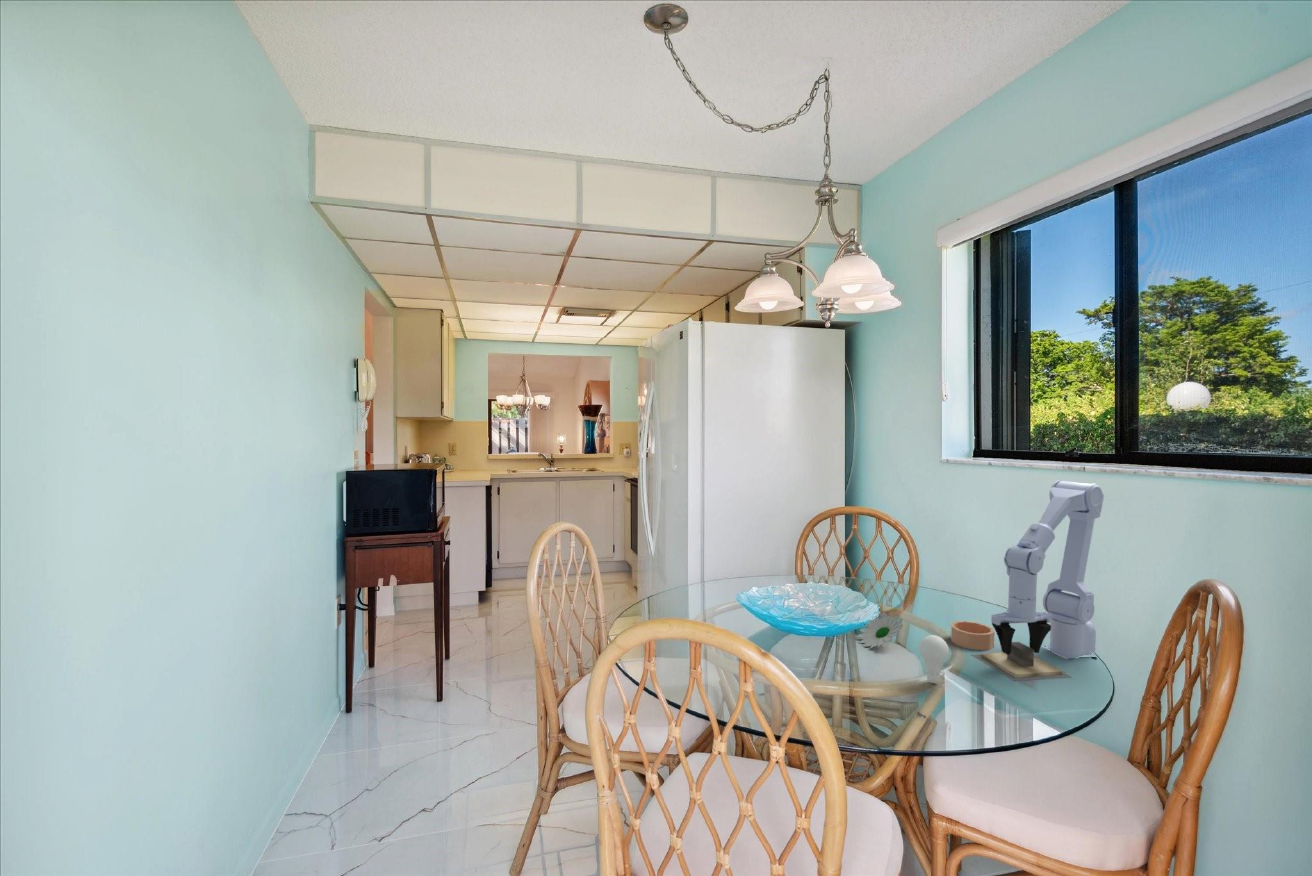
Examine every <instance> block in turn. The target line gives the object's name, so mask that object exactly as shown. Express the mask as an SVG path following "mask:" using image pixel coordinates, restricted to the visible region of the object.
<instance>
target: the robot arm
mask: <svg viewBox="0 0 1312 876" xmlns="http://www.w3.org/2000/svg"><path fill="white" fill-rule="evenodd" d="M1049 500H1050V501H1049V503H1048V504H1047V506H1046V509H1045V510H1044V512H1043V514H1042V516H1041V517H1040V520H1038V521H1039V522H1038V523H1032V524H1030V526H1029V527H1028V528H1027V530H1026V532H1025V533H1024V534H1023V535H1022V536H1021V538H1020V540H1019V542H1018V543H1017V544H1016V545H1013V546H1010V547H1009V548H1007V550H1006V552H1005V554H1004V557H1003V562H1004V565H1005V567H1006V574H1007V576H1008V603H1007V606H1008V607H1007V609H1006V611H1005V612H1004V611H1003V612H1000V613H996V614H991V618H990V620H991V625H992V628H993V630H994V632H995V633H996V635H997V637H998V641H999V644H1000V649H1001V653H1003V652H1004V653H1005V654H1007V655H1010V653H1011V645H1012V642H1013V637H1014V634H1015V632H1016V629H1015V628H1014V627H1011V625H1010V624H1023V623H1024V624H1027V627H1028V633H1029V634H1028V635H1029V636H1028V637H1029V640H1028V641H1029V647H1030V648H1032V649H1034V654H1035V653H1036V654H1039V653H1040V651H1041V648H1042V649H1044V650H1046V649H1050V650H1049V651H1048V652H1050V651H1051V652H1050V653H1052V654H1054V655H1057V656H1058V657H1060V658H1062V659H1064V660H1070V659H1069V658H1075V659H1077V658H1076V657H1079V656H1083V655H1089V654H1090V655H1091V654H1092V653H1094V654H1095V655H1096V641H1097V640H1096V637H1097V632H1096V627H1095V626H1094V624H1093V623H1092V621H1091V620H1092V618H1093V616H1094V615H1095V604H1094V601H1095V594H1094V593H1093V592H1092V591H1091V589H1090V588H1088V587H1087V585H1085V584H1084V582H1085V577H1086V571H1087V567H1088V566H1087V565H1088V560H1089V553H1090V549H1091V542H1092V536H1093V533H1094V532H1093V531H1094V525H1095V520H1096V519H1098V518H1100V517H1101V513H1102V508H1103V502H1104V493H1103V491H1102V489H1101V486H1099V484H1098V483H1086V482H1084V483H1083V482H1076V481H1075V482H1074V481H1066V480H1062V479H1061V480H1060V479H1059V480H1056V481H1054V482H1053V483H1052V485H1051V487H1050V489H1049ZM1066 517H1068V518H1069V524H1068V525H1069V526H1068V531H1067V535H1066V541H1065V547H1064V551H1063V558H1062V563H1061V567H1060V574H1059V578H1058V579H1056V580H1054V581H1052V582H1049V583H1048V584H1047V589H1046V592H1045V593H1044V595H1043V597H1042V606H1043V609H1044V610H1045V612H1044V611H1043V612H1042V611H1041V612H1040V611H1036V610H1037V584H1038V582H1037V581H1038V573H1039V572H1040V571H1041V570H1042V569H1043V566H1044V561H1045V559H1046V554H1045V553H1047V550H1048V549H1049V547H1050V546H1051V544H1052V543H1053V541H1054V540H1055V538H1056V536H1055V535H1056V534H1055V532H1054V530H1056V528H1057V527H1058V526H1059V525H1060V524H1061V523H1062V522H1063V520H1064V519H1065V518H1066ZM1048 634H1049V646H1050V647H1047V646H1048V645H1043V643H1044V640H1045V638H1046V636H1047V635H1048ZM1044 646H1046V647H1044ZM1090 651H1091V652H1092V653H1091V652H1090Z"/></svg>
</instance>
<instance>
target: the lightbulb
mask: <svg viewBox="0 0 1312 876" xmlns="http://www.w3.org/2000/svg"><path fill="white" fill-rule="evenodd" d="M918 648H919V653H920V655H921V657H922V659H923V661H924V664H925V671H926V679H927V681H928V682H929V683H930V684H932V683H934V684H937V683H939V682H940V675H941V673H942V667H943V665H944V663H945V662H946V660H947V659H948V657H949V652H950V649H949V646H948V643H947V642H946V641H945V640H944V639H943V638H942V637H940V636H938V635H936V634H935V635H934V634H930V635H927V636H924V637H923V638H921V640H920V642H919V647H918ZM934 684H933V685H934Z"/></svg>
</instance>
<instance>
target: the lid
mask: <svg viewBox="0 0 1312 876" xmlns="http://www.w3.org/2000/svg"><path fill="white" fill-rule="evenodd" d="M980 654H981V657H982V658H983V659H985V660H987V661H988V662H990V663H992V664H993V665H995V666H997V667H998V668H1000V669H1002V670H1003V671H1005V672H1007V673H1008V674H1010V675H1012V676H1013V677H1015V678H1020V677H1035V676H1050V675H1062V672H1063V670H1060V669H1058V668H1057V667H1055V666H1053V665H1051V664H1050V663H1047V662H1045V661H1043V660H1041V659H1040V658H1038V657H1036V656H1035V652H1034V649H1032V648H1030V646H1027V645H1026V644H1024V643H1022V642H1020V641H1012V645H1011V653H1010V655H1007V654H1005V653H1004V652H990V653H980Z"/></svg>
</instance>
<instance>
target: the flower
mask: <svg viewBox="0 0 1312 876" xmlns="http://www.w3.org/2000/svg"><path fill="white" fill-rule="evenodd" d="M879 616H880V618H879V617H878V616H875V617H876V618H875V619H874V620H873V621H870V620H869V621H870V623H868V624H866V625H864V626H865V628H860V629H859V632H861V633H860V634H858V635H857V639H861V640H860V641H859V642H858V644H862V647H863V648H866V647H869V649H872V648H875V647H877V648H879V647H882V646H883V645H884V644H886V643H889V642H891V641H892V640H893V638H894V637H896V636H898V634H899V631H900V630H901V629H902V628H903V623H902V622H903V618H902V617H901V618H900V614H899V613H896V612H895V614H894V612H893V611H890V612H889V613H888V614H887V613H886V612H882V613H880V614H879Z"/></svg>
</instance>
